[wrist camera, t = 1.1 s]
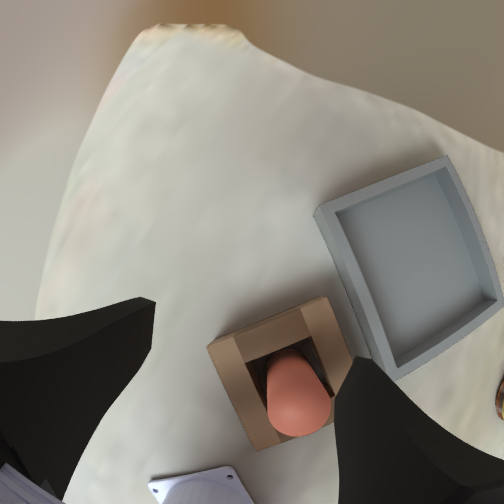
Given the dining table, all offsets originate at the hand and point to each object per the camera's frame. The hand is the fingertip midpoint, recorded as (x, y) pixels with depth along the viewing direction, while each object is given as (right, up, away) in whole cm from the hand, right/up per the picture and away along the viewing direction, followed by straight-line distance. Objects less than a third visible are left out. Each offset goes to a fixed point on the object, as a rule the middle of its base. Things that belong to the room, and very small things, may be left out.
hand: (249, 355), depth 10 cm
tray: (+13, +3, +11) cm, 17 cm away
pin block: (+3, -5, +11) cm, 12 cm away
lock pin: (+3, -5, +11) cm, 12 cm away
